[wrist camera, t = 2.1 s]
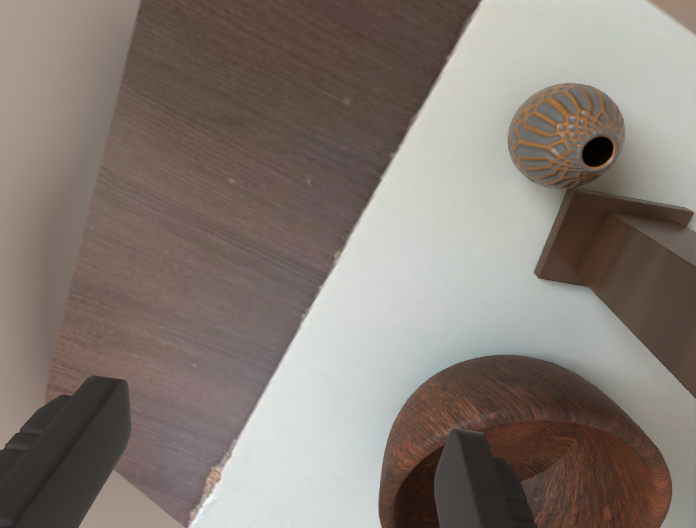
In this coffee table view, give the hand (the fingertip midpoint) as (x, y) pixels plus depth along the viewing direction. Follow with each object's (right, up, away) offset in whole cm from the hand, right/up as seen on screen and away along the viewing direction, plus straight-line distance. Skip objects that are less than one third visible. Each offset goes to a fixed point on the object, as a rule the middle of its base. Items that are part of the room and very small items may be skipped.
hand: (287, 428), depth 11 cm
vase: (+17, +15, +23) cm, 32 cm away
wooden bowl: (+17, -13, +36) cm, 42 cm away
